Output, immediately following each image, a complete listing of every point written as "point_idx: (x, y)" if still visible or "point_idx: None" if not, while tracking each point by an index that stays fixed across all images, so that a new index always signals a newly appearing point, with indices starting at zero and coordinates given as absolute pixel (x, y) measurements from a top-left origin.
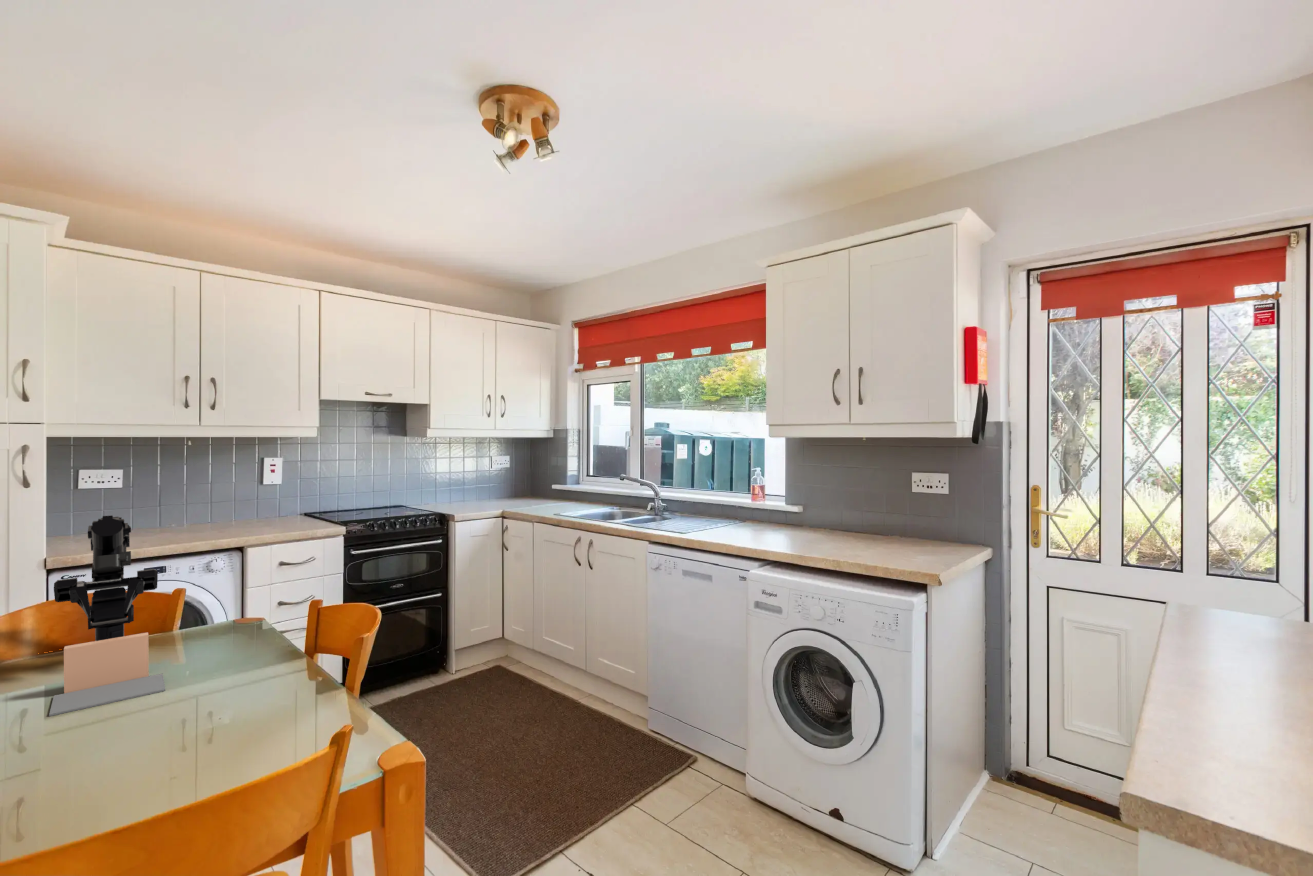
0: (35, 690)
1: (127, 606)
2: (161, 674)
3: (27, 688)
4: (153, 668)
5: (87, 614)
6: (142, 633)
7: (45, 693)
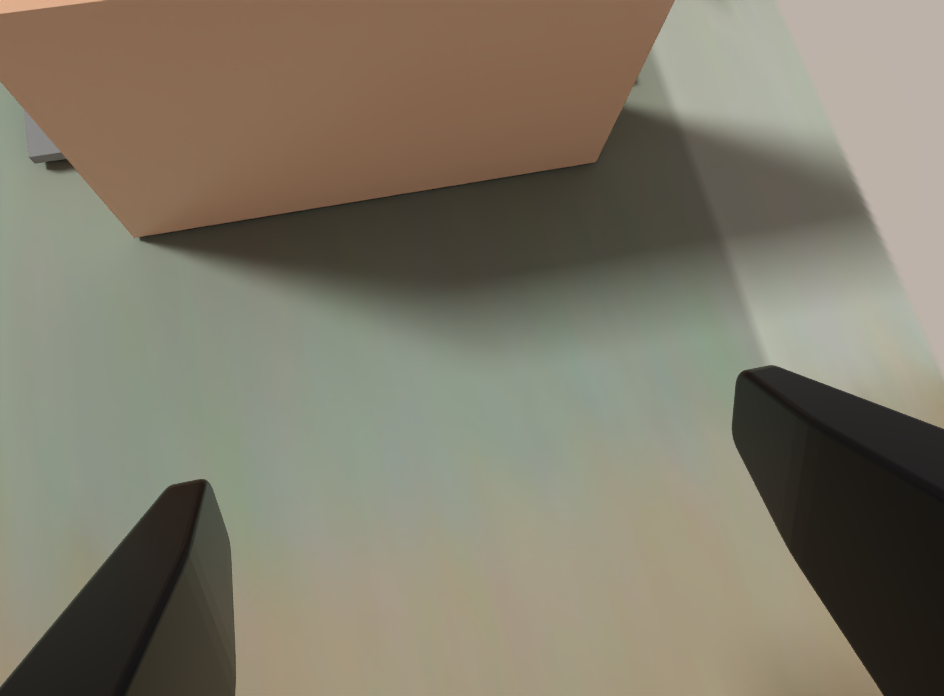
0: (800, 320)
1: (140, 535)
2: (34, 132)
3: (872, 399)
4: (116, 411)
5: (798, 376)
6: (7, 2)
7: (710, 215)
